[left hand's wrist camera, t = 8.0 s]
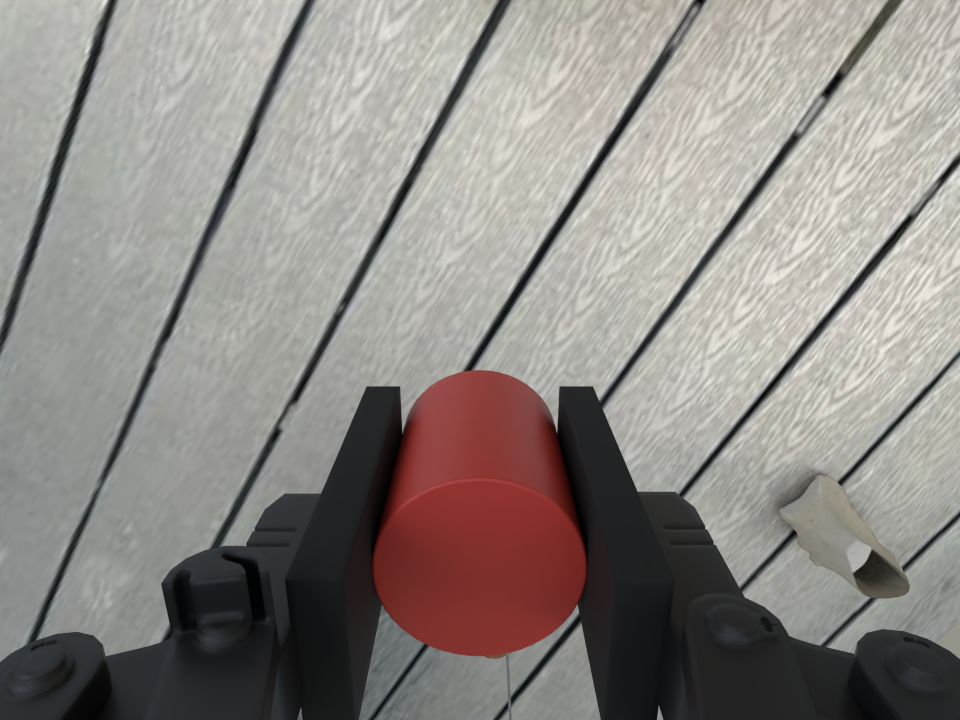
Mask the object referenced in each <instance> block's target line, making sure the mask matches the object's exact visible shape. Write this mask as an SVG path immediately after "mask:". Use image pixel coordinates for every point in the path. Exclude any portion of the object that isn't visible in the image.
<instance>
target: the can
mask: <svg viewBox="0 0 960 720" xmlns="http://www.w3.org/2000/svg"><path fill="white" fill-rule="evenodd" d="M372 571H373V581H374V585H375V588H376V591H377V594H378V597H379V599H380V601H381V603H382V605H383V606H384V608H385V610H386V611H387V612H388V614H389V615H390V617H391V618H392V619H393V620H394V621H395V622H396V623H397V624H398V625H399V626H400V627H401V628H402V629H403V630H405V631H406V632H407V633H408V634H410V635H411V636H413V637H414V638H416V639H417V640H419V641H421V642H423V643H425V644H427V645H429V646H431V647H434V648H437V649H440V650H442V651H446V652H450V653H454V654H460V655H468V656H491V655H499V654H505V653H510V652H513V651H517V650H520V649H523V648H526V647H528V646H530V645H533V644H535V643H537V642H538V641H540V640H542V639H544V638H545V637H547V636H548V635H550V634H551V633H553V632H554V631H555V630H556V629H557V628H558V627H560V626H561V625H562V624H563V623H564V622H565V621H566V619H567V618H568V617H569V616H570V615H571V613H572V612H573V610H574V609H575V607H576V606H577V604H578V602H579V600H580V598H581V595H582V593H583V590H584V587H585V583H586V577H587V553H586V548H585V544H584V540H583V536H582V532H581V528H580V524H579V520H578V516H577V512H576V508H575V504H574V500H573V496H572V492H571V488H570V484H569V480H568V476H567V472H566V468H565V464H564V460H563V456H562V452H561V448H560V444H559V440H558V436H557V432H556V428H555V424H554V420H553V418H552V415H551V413H550V411H549V409H548V407H547V405H546V404H545V402H544V401H543V400H542V398H541V397H540V396H539V395H538V394H537V393H536V392H535V391H534V390H533V389H532V388H530V387H529V386H528V385H527V384H525V383H523V382H522V381H520V380H518V379H516V378H514V377H511V376H509V375H506V374H502V373H499V372H493V371H483V370H476V371H466V372H461V373H457V374H454V375H451V376H448V377H446V378H444V379H442V380H440V381H438V382H437V383H435V384H434V385H432V386H431V387H429V388H428V389H427V390H426V391H425V392H424V393H423V394H422V395H421V396H420V397H419V398H418V399H417V400H416V402H415V403H414V405H413V407H412V408H411V410H410V412H409V414H408V417H407V420H406V423H405V427H404V431H403V435H402V439H401V443H400V447H399V451H398V455H397V458H396V462H395V466H394V470H393V474H392V478H391V482H390V486H389V490H388V494H387V498H386V502H385V506H384V510H383V514H382V518H381V522H380V526H379V530H378V534H377V538H376V542H375V546H374V550H373V557H372Z"/></svg>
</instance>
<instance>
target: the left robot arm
mask: <svg viewBox="0 0 960 720" xmlns="http://www.w3.org/2000/svg"><path fill="white" fill-rule="evenodd" d="M557 436H558V440H559V444H560V448H561V452H562V456H563V460H564V464H565V468H566V472H567V476H568V480H569V484H570V488H571V492H572V496H573V500H574V504H575V508H576V512H577V516H578V520H579V524H580V528H581V532H582V536H583V540H584V544H585V548H586V553H587V577H586V583H585V587H584V590H583V593H582V595H581V598H580V600H579V602H578V608H579V613H580V618H581V623H582V628H583V633H584V638H585V643H586V648H587V653H588V658H589V663H590V668H591V673H592V678H593V682H594V687H595V692H596V697H597V702H598V707H599V712H600V717H601V720H657V714H658V706H659V707H660V710H661V713H662V716H663V720H960V659H959V658H958V657H956V656H955V655H954V654H953V653H951V652H950V651H949V650H947V649H945V648H943V647H941V646H939V645H938V644H936V643H934V642H932V641H930V640H928V639H926V638H923V637H920V636H917V635H914V634H910V633H907V632H904V631H895V630H885V629H882V630H878V631H873V632H869V633H866V634H865V635H864V636H863V637H862V638H861V639H860V640H859V641H858V643H857V646H856V650H855V654H852V653H848V652H844V651H840V650H835V649H831V648H827V647H823V646H818V645H814V644H810V643H807V642H804V641H801V640H798V639H795V638H792V637H790V636H789V635H788V633H787V631H786V630H785V628H784V627H783V625H782V623H781V622H780V620H779V619H778V618H777V617H776V616H774V615H773V614H772V613H771V612H770V611H768V610H767V609H766V608H765V607H763V606H761V605H759V604H757V603H755V602H753V601H751V600H749V599H747V598H745V597H744V595H743V594H742V592H741V590H740V588H739V586H738V585H737V583H736V581H735V579H734V577H733V576H732V574H731V572H730V570H729V568H728V567H727V565H726V563H725V561H724V559H723V558H722V556H721V554H720V552H719V550H718V549H717V547H716V545H714V544H713V539H712V538H711V536H710V534H709V532H708V530H705V525H704V523H703V521H702V520H701V518H700V516H699V514H698V512H697V511H696V509H695V507H693V506H692V505H691V504H690V503H688V502H687V501H686V500H685V499H683V498H682V497H681V496H680V495H678V494H677V493H676V492H637V489H636V487H635V485H634V482H633V480H632V478H631V475H630V473H629V471H628V468H627V466H626V464H625V461H624V459H623V456H622V454H621V452H620V449H619V447H618V445H617V442H616V440H615V438H614V435H613V433H612V430H611V428H610V426H609V423H608V421H607V419H606V416H605V414H604V412H603V409H602V407H601V405H600V402H599V400H598V397H597V395H596V393H595V390H594V388H593V387H560V389H559V410H558V431H557ZM401 439H402V418H401V397H400V387H366V389H365V392H364V394H363V396H362V399H361V401H360V404H359V406H358V408H357V411H356V413H355V415H354V418H353V420H352V422H351V425H350V427H349V429H348V432H347V434H346V437H345V439H344V441H343V444H342V446H341V448H340V451H339V453H338V455H337V458H336V460H335V462H334V465H333V467H332V470H331V472H330V474H329V477H328V479H327V481H326V484H325V486H324V488H323V491H322V493H321V494H284V495H283V496H281V497H280V498H279V499H278V500H276V501H275V502H274V503H273V504H271V505H270V506H269V507H268V508H266V509H265V511H264V512H263V514H262V516H261V518H260V520H259V521H258V523H257V525H256V527H255V532H252V534H251V536H250V538H249V540H248V541H247V545H246V547H245V546H223V547H218V548H213V549H209V550H205V551H202V552H200V553H198V554H196V555H193V556H191V557H189V558H187V559H185V560H184V561H182V562H181V563H180V564H178V565H177V566H176V567H174V568H173V569H172V570H170V572H169V573H168V575H167V576H166V578H165V579H164V580H163V582H162V583H161V585H162V589H163V594H164V599H165V603H166V608H167V613H168V617H169V622H170V627H171V632H172V636H171V639H169V640H166V641H164V642H161V643H158V644H154V645H151V646H148V647H144V648H140V649H135V650H131V651H127V652H123V653H119V654H114V655H110V656H105V652H104V648H103V645H102V644H101V643H100V642H99V641H98V640H97V639H96V638H95V637H94V636H93V635H88V634H84V633H80V632H72V633H62V634H55V635H52V636H49V637H46V638H43V639H40V640H37V641H33V642H31V643H30V644H28V645H26V646H24V647H22V648H20V649H19V650H17V651H15V652H13V653H11V654H10V655H9V656H7V657H6V658H5V659H4V660H2V661H1V662H0V720H297V718H298V715H299V711H300V708H301V709H302V717H303V720H359V715H360V710H361V705H362V700H363V695H364V690H365V685H366V680H367V675H368V670H369V665H370V661H371V656H372V651H373V646H374V641H375V636H376V631H377V626H378V621H379V616H380V611H381V606H382V603H381V601H380V599H379V597H378V594H377V591H376V588H375V585H374V581H373V571H372V557H373V550H374V546H375V542H376V538H377V534H378V530H379V526H380V522H381V518H382V514H383V510H384V506H385V502H386V498H387V494H388V490H389V486H390V482H391V478H392V474H393V470H394V466H395V462H396V458H397V455H398V451H399V447H400V443H401Z"/></svg>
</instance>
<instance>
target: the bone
mask: <svg viewBox="0 0 960 720" xmlns="http://www.w3.org/2000/svg"><path fill="white" fill-rule="evenodd" d="M779 512H780V517H781V518H782V519H783V520H784V521H785V522H786V523H788V524H790V525H791V526H792V528H793V529H794V530H795V531H796V532H797V536H798V544H799V546H800V547H801V548H802V549H804V550H806V551H808V552H809V553H810V557H809V559H810V560H811V561H813V563H814V564H815V565H816V566H823V567H826V568H828V569H830V570H832V571H834V572H836V573H837V574H839V575H840V576H842V577H843V578H845V579H846V580H847V581H848V582H849V583H850V584H852V585H853V586H854V587H855V588H856V589H857V590H859V591H860V592H861V593H862V594H864V595H866V596H868V597H873V598H893V597H899V596H902V595H905V594H906V593H908V592H909V587H910V584H909V581H908V579H907V577H906V575H905V574H904V573H903V570H902V568H901V566H900V565H899V563H898V562H897V560H896V559H895V557H894V556H893V554H892V553H891V552H890V551H888V550H887V549H885V548H884V547H883V546H882V545H881V544H880V543H879V542H878V541H877V540H876V537H875V535H874V533H873V532H872V530H871V529H870V528H869V526H868V525H867V524H866V523H865V521H864V520H863V519H862V518H861V517H860V516H859V515H858V514H857V512H856V510H855V508H854V507H853V506H852V504H851V503H850V502H849V500H848V497H847V495H846V493H845V491H844V490H843V488H842V487H841V486H840V485H839V484H838V483H837V482H836V481H835V480H833V479H832V478H830V477H828V476H825V475H818V476H816V477H815V480H814V481H813V482H812V483H811V484H810V485H809V487H808V489H807V490H806V491H805V493H804V494H803V495H802V496H801V497H800V498H799V499H798V500H796V501H794V502H792V503H790V504H788V505H787V506H785V507H782V508H781V509H780V511H779Z"/></svg>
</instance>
